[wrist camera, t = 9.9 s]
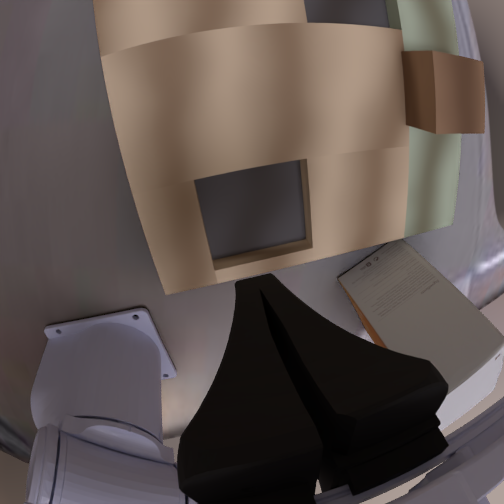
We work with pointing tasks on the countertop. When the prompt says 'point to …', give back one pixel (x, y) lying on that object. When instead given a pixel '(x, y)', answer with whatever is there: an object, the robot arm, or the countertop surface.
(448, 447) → the robot arm
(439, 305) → the small box
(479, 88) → the block
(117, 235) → the countertop surface
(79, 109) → the countertop surface
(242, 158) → the board
